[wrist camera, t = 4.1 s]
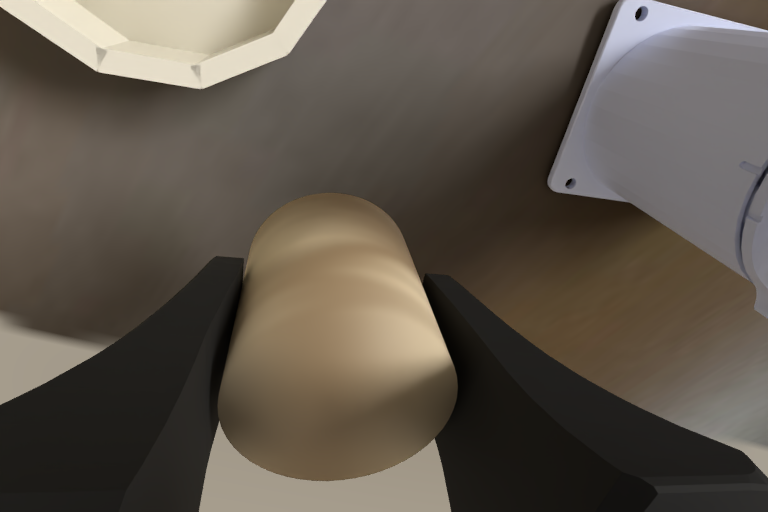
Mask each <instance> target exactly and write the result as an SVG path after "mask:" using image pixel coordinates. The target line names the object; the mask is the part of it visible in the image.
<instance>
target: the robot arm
mask: <svg viewBox="0 0 768 512" xmlns="http://www.w3.org/2000/svg"><path fill="white" fill-rule="evenodd" d="M640 7H641V10H642V12H641V16H640V17H639V18H638V19H637V20H636V18H635V14H636V11H637V10H638V8H640ZM569 179H572V182H571V183H570V184H569V185H568V186H565V184H566V182H567V180H569ZM547 183H548V186H549V188H550V189H552V190H553V191H555V192H559V193H566V194H573V195H580V196H588V197H595V198H602V199H609V200H616V201H623V202H630V203H632V204H633V205H635V206H636V207H638V208H639V209H641V210H642V211H644V212H645V213H647V214H648V215H650V216H651V217H653V218H654V219H656V220H657V221H659V222H660V223H662V224H663V225H665V226H667V227H668V228H670V229H671V230H673V231H674V232H676V233H677V234H679V235H680V236H682V237H683V238H685V239H686V240H688V241H689V242H691V243H692V244H694V245H695V246H697V247H699V248H700V249H702V250H703V251H705V252H706V253H708V254H709V255H711V256H712V257H714V258H715V259H717V260H718V261H720V262H721V263H723V264H724V265H726V266H727V267H729V268H730V269H732V270H734V271H735V272H737V273H738V274H740V275H741V276H743V277H744V278H746V279H747V280H749V281H750V282H752V283H754V285H755V286H756V291H757V298H756V302H755V305H754V309H755V310H756V311H758V312H759V313H760V314H762V315H763V316H765V317H766V318H767V319H768V31H767V30H763V29H759V28H756V27H752V26H748V25H744V24H740V23H737V22H733V21H729V20H725V19H721V18H717V17H714V16H710V15H706V14H702V13H698V12H695V11H691V10H687V9H683V8H679V7H675V6H672V5H668V4H664V3H660V2H656V1H653V0H619V1H618V2H617V4H616V5H615V7H614V9H613V12H612V15H611V17H610V20H609V22H608V25H607V27H606V30H605V33H604V35H603V38H602V40H601V43H600V46H599V48H598V51H597V53H596V56H595V58H594V61H593V64H592V66H591V69H590V71H589V74H588V76H587V79H586V82H585V84H584V87H583V89H582V92H581V95H580V97H579V100H578V102H577V105H576V107H575V110H574V113H573V115H572V118H571V120H570V123H569V125H568V128H567V131H566V133H565V136H564V138H563V141H562V143H561V146H560V149H559V151H558V154H557V156H556V159H555V162H554V164H553V167H552V169H551V172H550V174H549V177H548V181H547ZM243 263H244V258H232V257H220V256H216V257H215V258H213V259H212V260H211V261H210V262H209V263H208V264H207V265H206V266H205V267H204V268H203V269H202V270H201V271H200V272H199V273H198V274H197V275H196V276H195V277H194V278H193V279H192V280H191V281H190V282H189V283H188V284H187V285H186V286H185V287H184V288H183V289H182V290H180V291H179V292H178V293H177V294H176V295H175V296H174V297H173V298H172V299H171V300H169V301H168V302H167V303H166V304H165V305H164V306H162V307H161V308H160V309H159V310H158V311H156V312H155V313H154V314H153V315H151V316H150V317H149V318H148V319H146V320H145V321H144V322H142V323H141V324H140V325H139V326H137V327H136V328H135V329H133V330H132V331H131V332H129V333H128V334H127V335H125V336H124V337H122V338H121V339H119V340H118V341H117V342H115V343H114V344H112V345H110V346H109V347H107V348H106V349H104V350H103V351H101V352H100V353H98V354H96V355H95V356H93V357H91V358H90V359H88V360H86V361H84V362H82V363H81V364H79V365H77V366H75V367H74V368H72V369H70V370H68V371H66V372H65V373H63V374H61V375H59V376H57V377H56V378H54V379H52V380H50V381H48V382H47V383H45V384H43V385H41V386H39V387H37V388H35V389H33V390H31V391H28V392H26V393H24V394H23V395H20V396H19V397H16V398H14V399H12V400H10V401H8V402H6V403H3V404H2V405H0V512H199V506H200V501H201V495H202V490H203V484H204V478H205V473H206V468H207V463H208V460H209V456H210V451H211V448H212V444H213V441H214V437H215V433H216V430H217V426H218V423H219V417H218V397H219V391H220V386H221V382H222V377H223V372H224V368H225V363H226V359H227V354H228V349H229V345H230V340H231V335H232V331H233V326H234V321H235V317H236V312H237V308H238V303H239V299H240V294H241V289H242V285H243ZM422 286H423V288H424V291H425V293H426V296H427V299H428V301H429V304H430V306H431V309H432V311H433V314H434V316H435V319H436V321H437V324H438V326H439V329H440V332H441V334H442V337H443V339H444V342H445V344H446V347H447V349H448V352H449V354H450V357H451V360H452V362H453V365H454V367H455V371H456V375H457V382H458V391H457V399H456V403H455V406H454V409H453V412H452V414H451V416H450V418H449V420H448V421H447V423H446V425H445V426H444V428H443V429H442V430H441V431H440V433H439V434H438V435H437V436H436V437H435V441H436V444H437V447H438V451H439V455H440V459H441V462H442V467H443V471H444V476H445V482H446V487H447V492H448V496H449V502H450V507H451V512H768V478H767V477H766V476H765V474H763V472H762V471H761V470H760V469H759V468H758V467H757V466H756V465H755V464H754V463H753V462H752V461H751V460H750V458H749V457H748V456H747V455H745V454H744V453H743V452H742V451H740V450H738V449H735V448H733V447H730V446H728V445H725V444H723V443H720V442H718V441H715V440H713V439H710V438H708V437H705V436H703V435H700V434H698V433H695V432H693V431H690V430H688V429H685V428H683V427H680V426H678V425H676V424H674V423H671V422H669V421H667V420H665V419H663V418H661V417H658V416H656V415H654V414H652V413H650V412H648V411H645V410H643V409H641V408H639V407H637V406H635V405H633V404H631V403H629V402H627V401H625V400H623V399H621V398H619V397H617V396H616V395H614V394H612V393H610V392H608V391H606V390H605V389H603V388H601V387H599V386H597V385H596V384H594V383H592V382H590V381H588V380H587V379H585V378H583V377H582V376H580V375H578V374H577V373H575V372H573V371H572V370H570V369H569V368H567V367H566V366H564V365H563V364H561V363H559V362H558V361H556V360H555V359H553V358H552V357H550V356H549V355H547V354H546V353H544V352H543V351H542V350H540V349H539V348H537V347H536V346H535V345H533V344H532V343H531V342H529V341H528V340H527V339H525V338H524V337H523V336H521V335H520V334H519V333H517V332H516V331H515V330H514V329H512V328H511V327H510V326H509V325H507V324H506V323H505V322H504V321H502V320H501V319H500V318H499V317H498V316H496V315H495V314H494V313H493V312H492V311H490V310H489V309H488V308H487V307H486V306H485V305H483V304H482V303H481V302H480V301H479V300H478V299H476V298H475V297H474V296H473V295H472V294H471V293H469V292H468V291H467V290H466V289H465V288H464V287H462V286H461V285H460V284H459V283H458V282H456V281H455V280H454V279H452V278H451V277H450V276H448V275H438V274H425V277H424V281H423V284H422Z"/></svg>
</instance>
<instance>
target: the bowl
mask: <svg viewBox="0 0 768 512" xmlns="http://www.w3.org/2000/svg"><path fill="white" fill-rule="evenodd" d="M325 2H326V0H0V7H1V8H3V9H4V10H6V11H7V12H9V13H10V14H12V15H13V16H15V17H16V18H18V19H19V20H21V21H22V22H24V23H25V24H27V25H28V26H30V27H31V28H33V29H34V30H36V31H37V32H39V33H40V34H42V35H43V36H45V37H46V38H48V39H49V40H50V41H52V42H53V43H55V44H56V45H58V46H59V47H61V48H62V49H64V50H65V51H67V52H68V53H70V54H71V55H73V56H74V57H76V58H77V59H79V60H80V61H82V62H83V63H85V64H86V65H88V66H89V67H91V68H92V69H94V70H95V71H98V72H100V73H106V74H112V75H118V76H124V77H130V78H136V79H142V80H148V81H154V82H160V83H166V84H172V85H178V86H184V87H191V88H197V89H201V88H202V89H204V88H206V87H209V86H211V85H214V84H216V83H219V82H221V81H224V80H226V79H229V78H231V77H234V76H236V75H239V74H241V73H244V72H246V71H249V70H251V69H254V68H256V67H259V66H261V65H264V64H266V63H269V62H271V61H274V60H276V59H279V58H281V57H284V56H286V55H288V54H289V53H290V51H291V50H292V49H293V47H294V46H295V44H296V43H297V41H298V40H299V39H300V37H301V36H302V34H303V33H304V32H305V30H306V29H307V27H308V26H309V24H310V23H311V22H312V20H313V19H314V17H315V16H316V14H317V13H318V12H319V10H320V9H321V7H322V6H323V5H324V3H325Z"/></svg>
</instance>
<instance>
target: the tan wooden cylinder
mask: <svg viewBox="0 0 768 512" xmlns="http://www.w3.org/2000/svg"><path fill="white" fill-rule="evenodd" d="M457 391H458V382H457V375H456V371H455V367H454V365H453V362H452V360H451V357H450V354H449V352H448V349H447V347H446V344H445V342H444V339H443V337H442V334H441V332H440V329H439V326H438V324H437V321H436V319H435V316H434V314H433V311H432V309H431V306H430V304H429V301H428V299H427V296H426V293H425V291H424V288H423V286H422V283H421V281H420V278H419V276H418V273H417V271H416V268H415V265H414V263H413V260H412V258H411V255H410V253H409V250H408V248H407V245H406V243H405V240H404V238H403V235H402V233H401V231H400V229H399V228H398V226H397V225H396V223H395V222H394V221H393V220H392V218H391V217H390V216H389V215H388V214H387V213H385V212H384V211H383V210H382V209H381V208H379V207H378V206H376V205H374V204H373V203H371V202H369V201H367V200H364V199H362V198H359V197H356V196H352V195H347V194H342V193H319V194H313V195H308V196H305V197H301V198H298V199H296V200H293V201H291V202H289V203H287V204H285V205H284V206H282V207H281V208H279V209H277V210H276V211H275V212H274V213H273V214H271V215H270V216H269V217H268V218H267V219H266V220H265V222H264V223H263V224H262V225H261V227H260V228H259V230H258V231H257V233H256V235H255V237H254V239H253V241H252V245H251V248H250V252H249V257H248V261H247V266H246V271H245V275H244V280H243V285H242V289H241V294H240V299H239V303H238V308H237V312H236V317H235V321H234V326H233V331H232V335H231V340H230V345H229V349H228V354H227V359H226V363H225V368H224V372H223V377H222V382H221V386H220V391H219V397H218V417H219V420H220V424H221V427H222V429H223V431H224V433H225V435H226V437H227V439H228V440H229V441H230V443H231V444H232V445H233V447H234V448H235V449H236V450H237V451H238V452H239V453H240V454H241V455H243V456H244V457H245V458H247V459H248V460H249V461H251V462H252V463H254V464H256V465H258V466H260V467H261V468H264V469H266V470H268V471H271V472H273V473H276V474H280V475H283V476H286V477H291V478H296V479H303V480H312V481H334V480H345V479H352V478H357V477H362V476H366V475H370V474H374V473H377V472H380V471H383V470H385V469H388V468H390V467H393V466H395V465H397V464H399V463H401V462H403V461H405V460H407V459H408V458H410V457H412V456H413V455H415V454H416V453H418V452H419V451H420V450H422V449H423V448H424V447H425V446H427V445H428V444H429V443H430V442H431V441H432V440H433V439H434V438H435V437H436V436H437V435H438V434H439V433H440V431H441V430H442V429H443V428H444V426H445V425H446V423H447V421H448V420H449V418H450V416H451V414H452V412H453V409H454V406H455V403H456V399H457Z"/></svg>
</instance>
